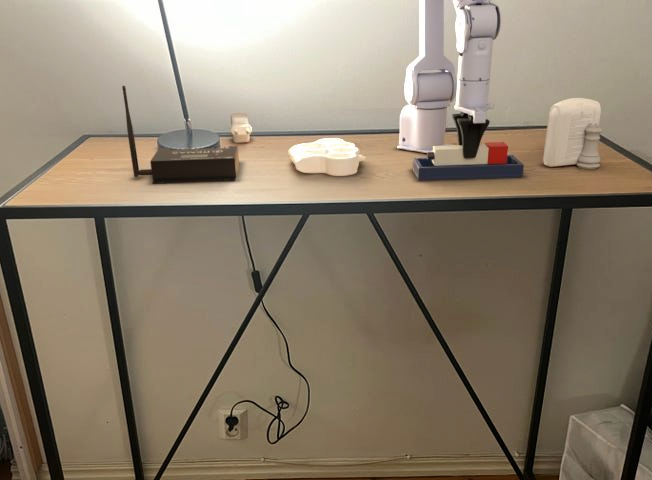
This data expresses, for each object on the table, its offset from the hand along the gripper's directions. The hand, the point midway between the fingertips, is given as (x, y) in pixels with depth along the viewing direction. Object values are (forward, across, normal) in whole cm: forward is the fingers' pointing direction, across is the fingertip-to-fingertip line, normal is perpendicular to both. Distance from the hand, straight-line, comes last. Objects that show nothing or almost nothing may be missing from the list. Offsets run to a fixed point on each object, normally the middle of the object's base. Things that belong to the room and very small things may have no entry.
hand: (467, 155), depth 136 cm
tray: (+3, 0, 0) cm, 3 cm away
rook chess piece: (+4, +2, -24) cm, 25 cm away
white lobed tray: (+4, +10, +26) cm, 28 cm away
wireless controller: (+4, +7, +54) cm, 55 cm away
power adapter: (+4, +32, +45) cm, 55 cm away
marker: (+1, 0, 0) cm, 1 cm away
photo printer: (+4, +5, -21) cm, 22 cm away
